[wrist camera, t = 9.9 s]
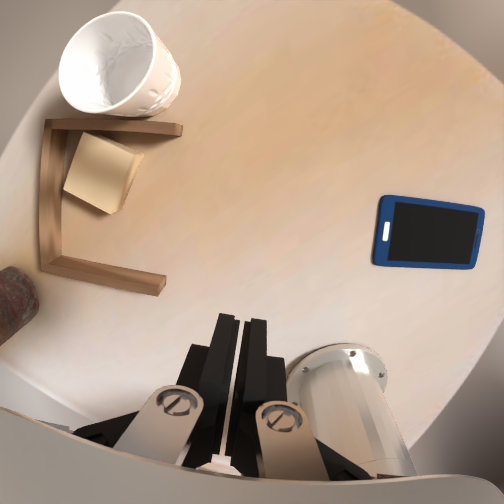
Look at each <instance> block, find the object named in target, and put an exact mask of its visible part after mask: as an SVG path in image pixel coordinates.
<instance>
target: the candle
mask: <svg viewBox="0 0 504 504" xmlns="http://www.w3.org/2000/svg"><path fill="white" fill-rule="evenodd" d="M38 310H39V302H38V298H37V294H36V291H35V287H34V285H33V282H32V281H31V280H30V279H29V278H28V277H27V275H25V274H24V273H23V272H22V270H20V269H18V268H15V267H13V266H11V267H8V268H6V269H4V270H2V271H0V346H1V345H2V344H3V343H5V342H6V341H7V340H8V339H9V338H10V337H12V336H13V335H14V334H15V333H16V332H17V331H19V330H20V329H21V328H22V327H23V326H24V325H26V324H27V323H28V322H29V321H30V320H32V319H33V318H34V317H35V316H36V314H37V312H38Z"/></svg>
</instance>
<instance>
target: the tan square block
mask: <svg viewBox="0 0 504 504" xmlns="http://www.w3.org/2000/svg"><path fill="white" fill-rule="evenodd" d="M143 156H144V154H142V153H140V152H138V151H136V150H134V149H131V148H129V147H127V146H125V145H123V144H120V143H118V142H116V141H114V140H111V139H109V138H107V137H105V136H102V135H100V134H98V133H93V132H83V134H82V137H81V139H80V142H79V144H78V147H77V150H76V152H75V155H74V158H73V161H72V164H71V167H70V169H69V172H68V175H67V178H66V182H65V185H64V188H63V189H64V190H65V191H67V192H69V193H71V194H73V195H75V196H77V197H78V198H80V199H82V200H84V201H86V202H88V203H90V204H92V205H93V206H95V207H97V208H99V209H101V210H103V211H105V212H107V213H109V214H113V213H115V212H117V211H119V210H122V208H123V205H124V203H125V200H126V197H127V195H128V192H129V190H130V187H131V185H132V182H133V180H134V177H135V175H136V173H137V170H138V168H139V166H140V163H141V161H142V159H143Z"/></svg>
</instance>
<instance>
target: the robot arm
mask: <svg viewBox="0 0 504 504" xmlns="http://www.w3.org/2000/svg"><path fill="white" fill-rule="evenodd" d="M234 317H235V316H234V315H228V314H222V313H220V314H219V317H218V320H217V324H216V327H215V330H214V334H213V337H212V341H211V344H210V347H207V346H201V345H196V344H192V345H191V347H190V349H189V352H188V354H187V357H186V359H185V362H184V365H183V367H182V370H181V372H180V375H179V378H178V380H177V383H176V385H169V386H164V387H161V388H159V389H157V390H156V391H155V392H154V393H153V394H152V395H151V397H150V398H149V399H148V401H147V402H146V403H145V405H144V406H143V407H142V409H141V410H140V411H137V412H133V413H130V414H127V415H124V416H120V417H117V418H113V419H110V420H106V421H103V422H99V423H95V424H91V425H88V426H84V427H81V428H79V429H77V430H76V431H70V429H69V427H68V426H62V425H57V424H53V423H48V422H44V421H39V420H35V419H32V418H30V417H27V416H25V415H22V414H20V413H17V412H14V411H12V410H9V409H6V408H2V407H0V504H504V495H503V494H502V493H501V492H500V490H499V489H498V488H497V487H496V486H494V485H493V484H492V483H490V482H488V481H486V480H484V479H481V478H476V477H471V476H464V475H445V474H442V475H424V476H418V475H417V472H416V469H415V467H414V465H413V462H412V459H411V457H410V454H409V452H408V450H407V447H406V445H405V442H404V440H403V438H402V435H401V433H400V430H399V428H398V426H397V423H396V421H395V419H394V416H393V414H392V412H391V410H390V407H389V405H388V403H387V401H386V398H385V396H384V394H383V393H384V391H385V388H386V385H387V378H388V376H387V370H386V367H385V365H384V363H383V361H382V359H381V358H380V357H379V356H378V355H377V354H376V353H375V352H374V351H372V350H371V349H369V348H367V347H364V346H361V345H356V344H338V345H333V346H328V347H325V348H322V349H319V350H317V351H316V352H314V353H312V354H310V355H308V356H307V357H306V358H304V359H303V360H301V361H300V362H299V363H298V364H297V365H296V366H295V367H294V369H293V370H292V372H291V373H290V375H289V377H288V379H287V382H286V375H285V362H284V358H280V357H272V356H267V320H261V319H254V318H251V322H247V321H245V323H244V329H243V336H242V342H241V348H240V354H239V360H238V366H237V373H236V379H235V385H234V392H233V399H232V407H231V414H230V421H229V428H228V435H227V442H226V450H225V456H231V463H230V466H233V467H235V468H236V469H237V470H238V471H239V472H240V473H241V476H237V475H229V474H222V473H216V472H209V471H204V470H198V467H200V466H202V465H204V464H206V463H208V462H209V463H211V459H212V454H217V455H219V452H220V446H221V440H222V433H223V427H224V421H225V414H226V408H227V401H228V395H229V389H230V382H231V376H232V369H233V363H234V356H235V350H236V343H237V337H238V330H239V324H240V320H235V319H234Z"/></svg>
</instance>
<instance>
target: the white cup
mask: <svg viewBox="0 0 504 504" xmlns="http://www.w3.org/2000/svg"><path fill="white" fill-rule="evenodd" d="M58 81H59V86H60V90H61V92H62V95H63V96H64V98H65V99H66V101H67V102H68V103H69V104H70V105H71V106H72V107H74V108H76V109H77V110H80V111H82V112H87V113H96V114H106V115H115V116H127V117H146V116H154V115H156V114H158V113H160V112H162V111H163V110H165V109H167V108H168V107H169V106H170V104H171V103H172V102H173V101H174V99H175V98H176V97H177V95H178V92H179V88H180V84H181V77H180V71H179V67H178V66H177V64H176V63H175V62H174V60H173V58H172V56H171V54H170V53H169V51H168V50H167V48H166V47H165V45H164V44H163V43H162V41H161V40H160V39H159V37H158V36H157V35H156V33H155V32H154V31H153V29H152V28H151V27H150V25H149V24H148V23H147V22H146V21H145V20H144V19H143V18H141V17H140V16H138V15H136V14H133V13H129V12H122V11H119V12H110V13H106V14H103V15H101V16H98V17H96V18H94V19H93V20H91V21H89V22H88V23H86V24H85V25H84V26H83V27H82V28H80V29H79V30H78V31H77V32H76V33H75V35H74V36H73V37H72V38H71V40H70V41H69V43H68V44H67V46H66V48H65V50H64V52H63V54H62V57H61V60H60V64H59V70H58Z"/></svg>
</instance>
